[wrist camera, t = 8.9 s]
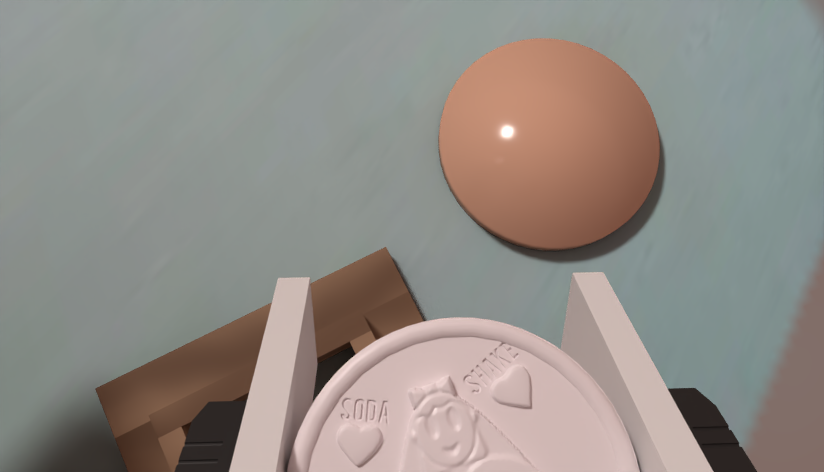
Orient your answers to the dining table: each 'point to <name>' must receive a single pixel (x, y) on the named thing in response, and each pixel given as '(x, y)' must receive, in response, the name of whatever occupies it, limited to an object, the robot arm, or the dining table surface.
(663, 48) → the dining table surface
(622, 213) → the coaster
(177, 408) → the cup holder
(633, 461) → the smoothie
